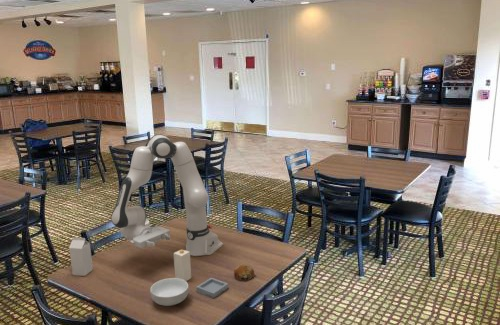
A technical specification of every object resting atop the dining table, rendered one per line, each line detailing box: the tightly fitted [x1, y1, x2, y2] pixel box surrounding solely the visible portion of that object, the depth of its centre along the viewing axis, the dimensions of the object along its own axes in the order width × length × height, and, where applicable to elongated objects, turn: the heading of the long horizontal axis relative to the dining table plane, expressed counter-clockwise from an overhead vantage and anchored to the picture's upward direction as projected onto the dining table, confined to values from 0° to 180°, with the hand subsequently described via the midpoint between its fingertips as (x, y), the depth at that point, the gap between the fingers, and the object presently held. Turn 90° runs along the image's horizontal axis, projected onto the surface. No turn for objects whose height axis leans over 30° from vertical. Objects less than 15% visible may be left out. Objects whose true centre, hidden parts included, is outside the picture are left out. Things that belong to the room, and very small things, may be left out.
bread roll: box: [233, 263, 255, 282], centre depth 210 cm, size 10×10×8 cm
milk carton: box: [68, 237, 94, 277], centre depth 216 cm, size 7×7×19 cm
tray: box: [195, 277, 229, 299], centre depth 197 cm, size 10×10×2 cm
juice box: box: [173, 248, 192, 282], centre depth 207 cm, size 6×6×15 cm
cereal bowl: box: [149, 277, 189, 307], centre depth 189 cm, size 17×17×7 cm
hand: (162, 241), depth 212 cm, fingers open, 8 cm apart
